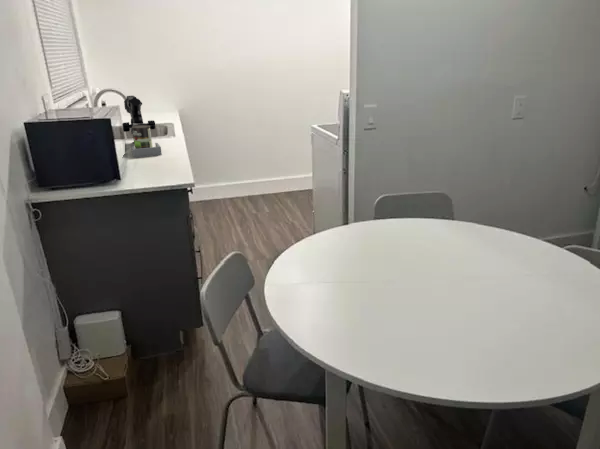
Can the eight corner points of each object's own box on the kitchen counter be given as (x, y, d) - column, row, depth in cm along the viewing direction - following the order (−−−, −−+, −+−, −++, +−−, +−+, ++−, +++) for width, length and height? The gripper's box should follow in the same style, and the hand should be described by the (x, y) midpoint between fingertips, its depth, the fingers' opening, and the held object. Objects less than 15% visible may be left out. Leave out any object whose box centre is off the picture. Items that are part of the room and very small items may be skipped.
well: (131, 153, 270) (130, 145, 269) (158, 150, 276) (157, 142, 274) (134, 157, 259) (133, 149, 258) (161, 154, 265) (160, 146, 263)
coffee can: (144, 152, 271) (140, 128, 266) (131, 151, 275) (127, 127, 270) (157, 149, 279) (153, 125, 274) (144, 147, 284) (140, 124, 278)
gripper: (152, 123, 295) (157, 143, 290) (121, 125, 288) (125, 146, 283) (152, 112, 285) (157, 132, 280) (120, 114, 278) (124, 135, 273)
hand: (141, 137), depth 279 cm, fingers closed
